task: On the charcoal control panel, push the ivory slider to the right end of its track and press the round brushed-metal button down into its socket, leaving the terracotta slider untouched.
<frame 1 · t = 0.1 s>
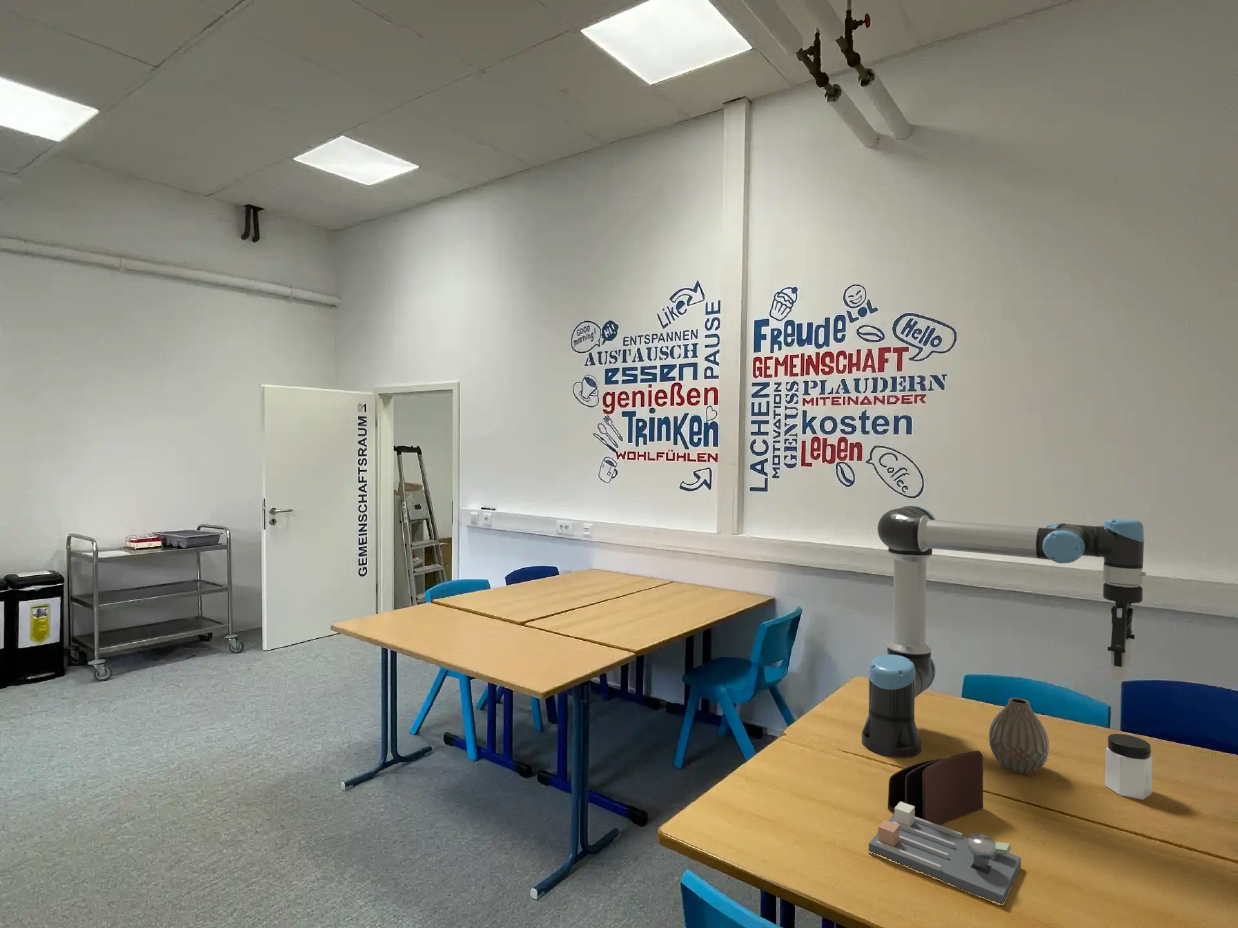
hand: (1120, 672, 161), 28 cm above the table, fingers open, 13 cm apart
slider ivory: (904, 814, 142), point 4 cm above the table, slide at 0.0 cm
vase: (1017, 769, 171), on the table
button: (981, 851, 128), point 5 cm above the table, slide at 0.0 cm
jar: (1127, 791, 160), on the table
slider terracotta: (888, 833, 135), point 4 cm above the table, slide at 0.0 cm
panel: (943, 859, 133), on the table
letter holder: (935, 810, 152), on the table
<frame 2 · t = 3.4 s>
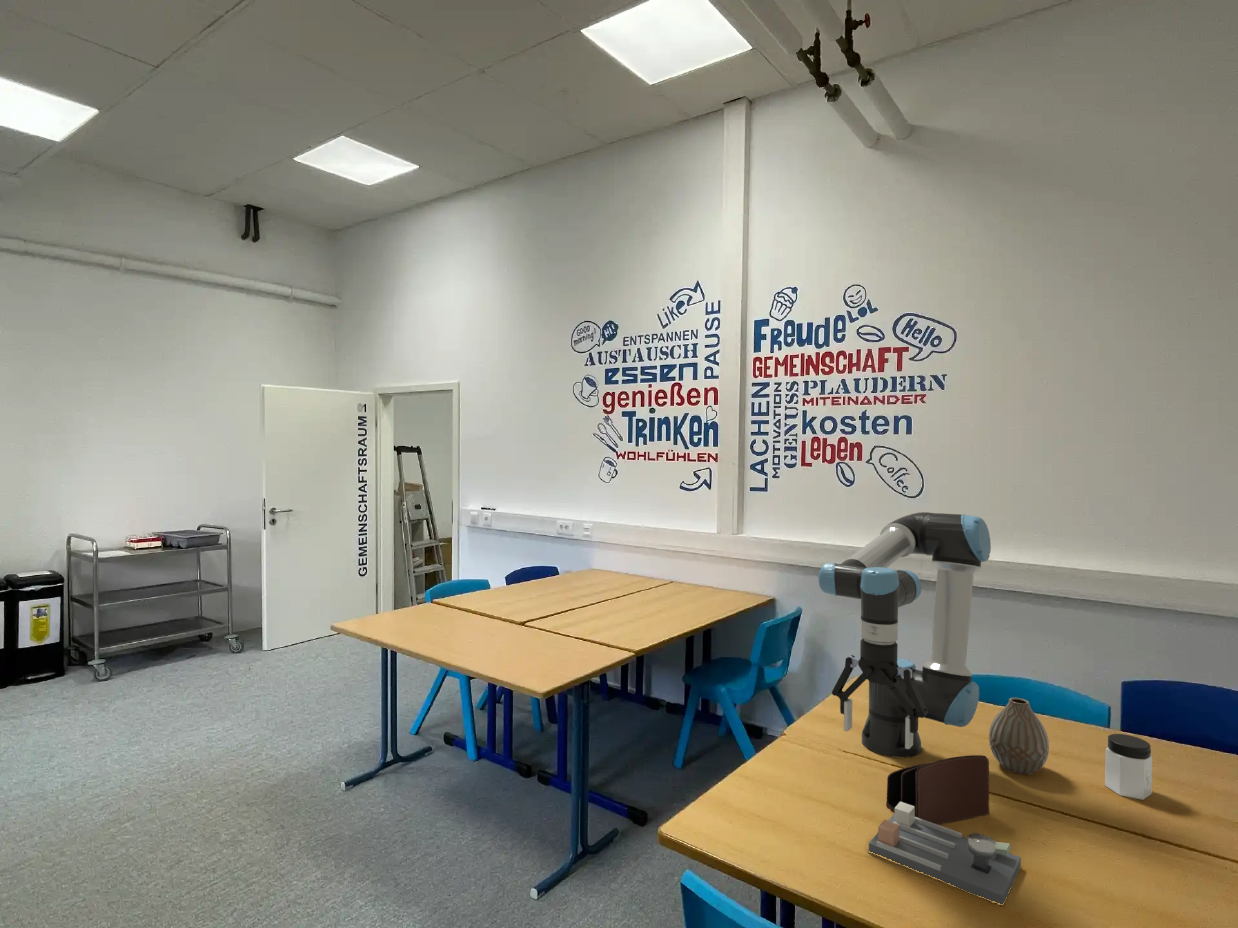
hand: (877, 737, 146), 19 cm above the table, fingers open, 12 cm apart
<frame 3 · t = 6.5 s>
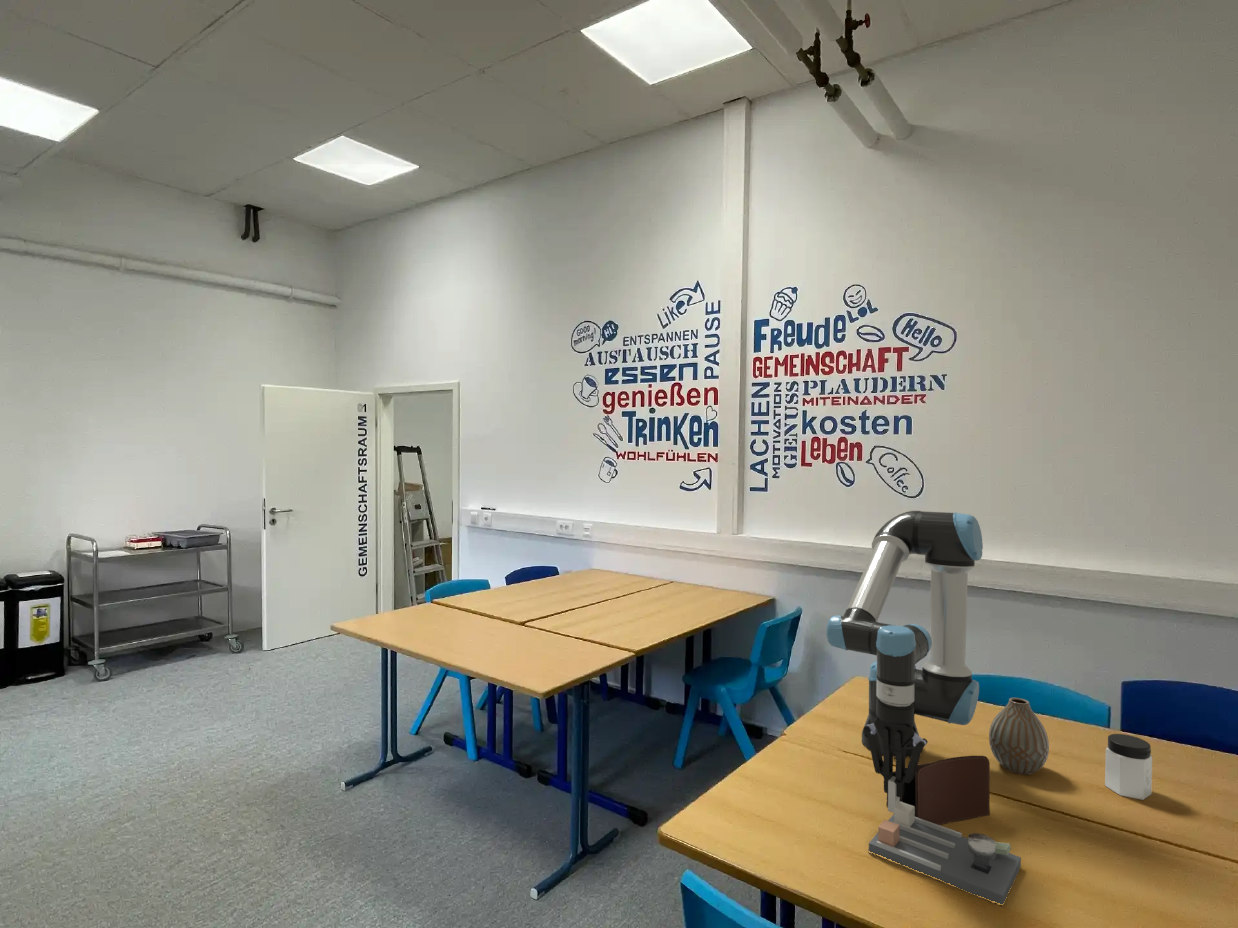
hand: (893, 809, 144), 4 cm above the table, fingers closed
slider ivory: (904, 814, 142), point 4 cm above the table, slide at 0.0 cm, touching gripper
everything else where it was.
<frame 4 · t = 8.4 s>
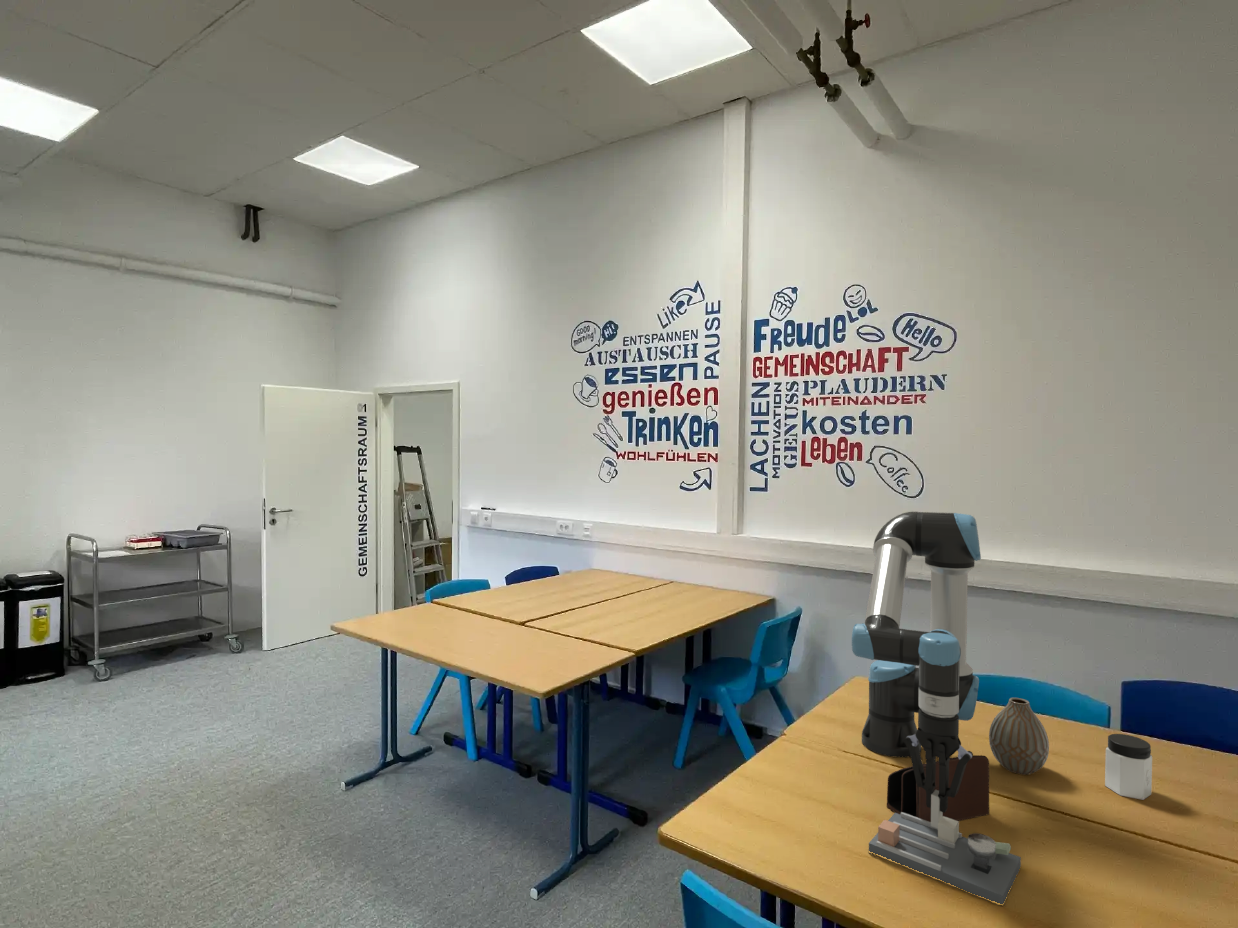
hand: (936, 824, 138), 4 cm above the table, fingers closed
slider ivory: (948, 829, 137), point 4 cm above the table, slide at 8.6 cm, touching gripper
everything else where it was.
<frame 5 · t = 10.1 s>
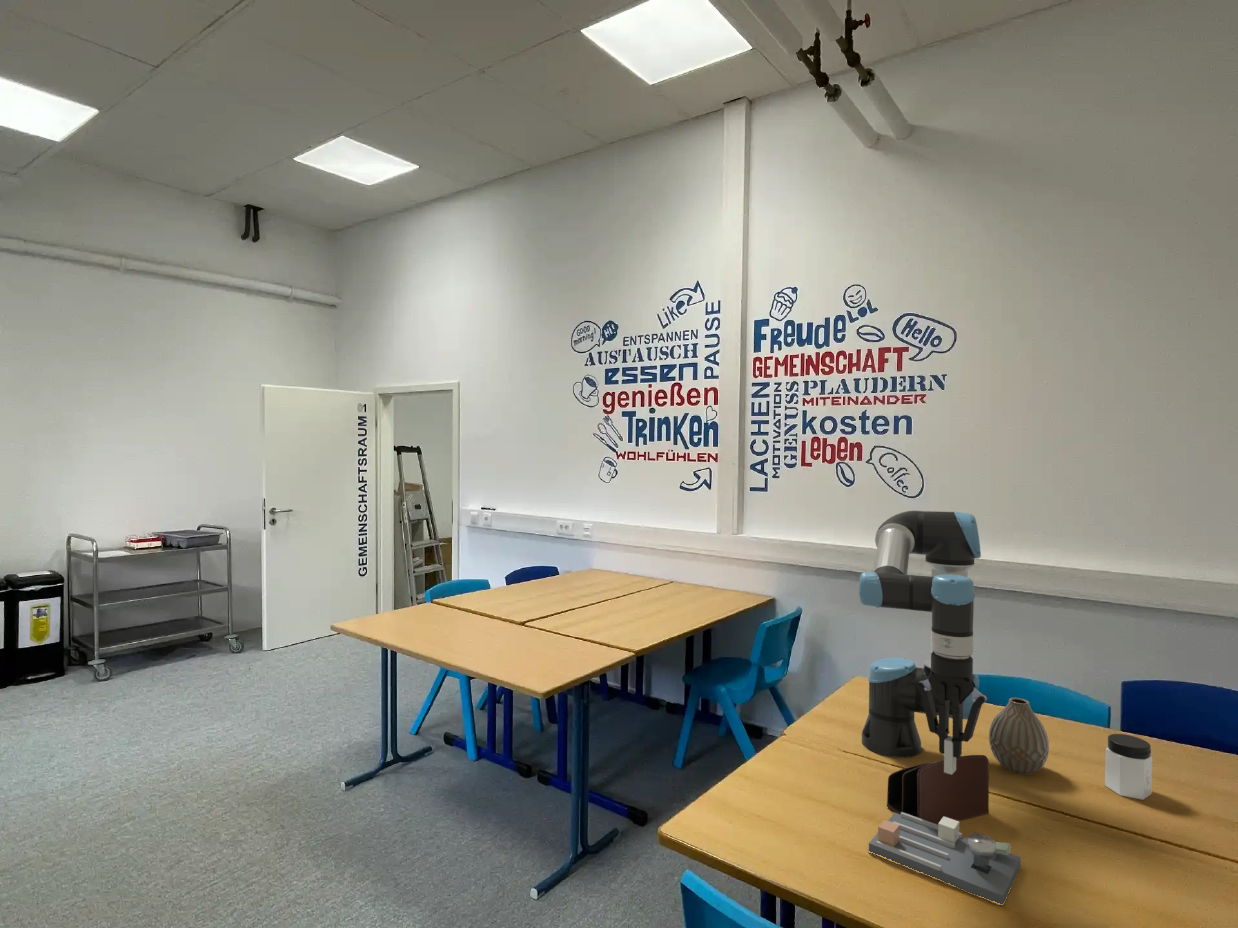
hand: (950, 770, 134), 17 cm above the table, fingers closed
slider ivory: (948, 830, 136), point 4 cm above the table, slide at 8.7 cm
everything else where it was.
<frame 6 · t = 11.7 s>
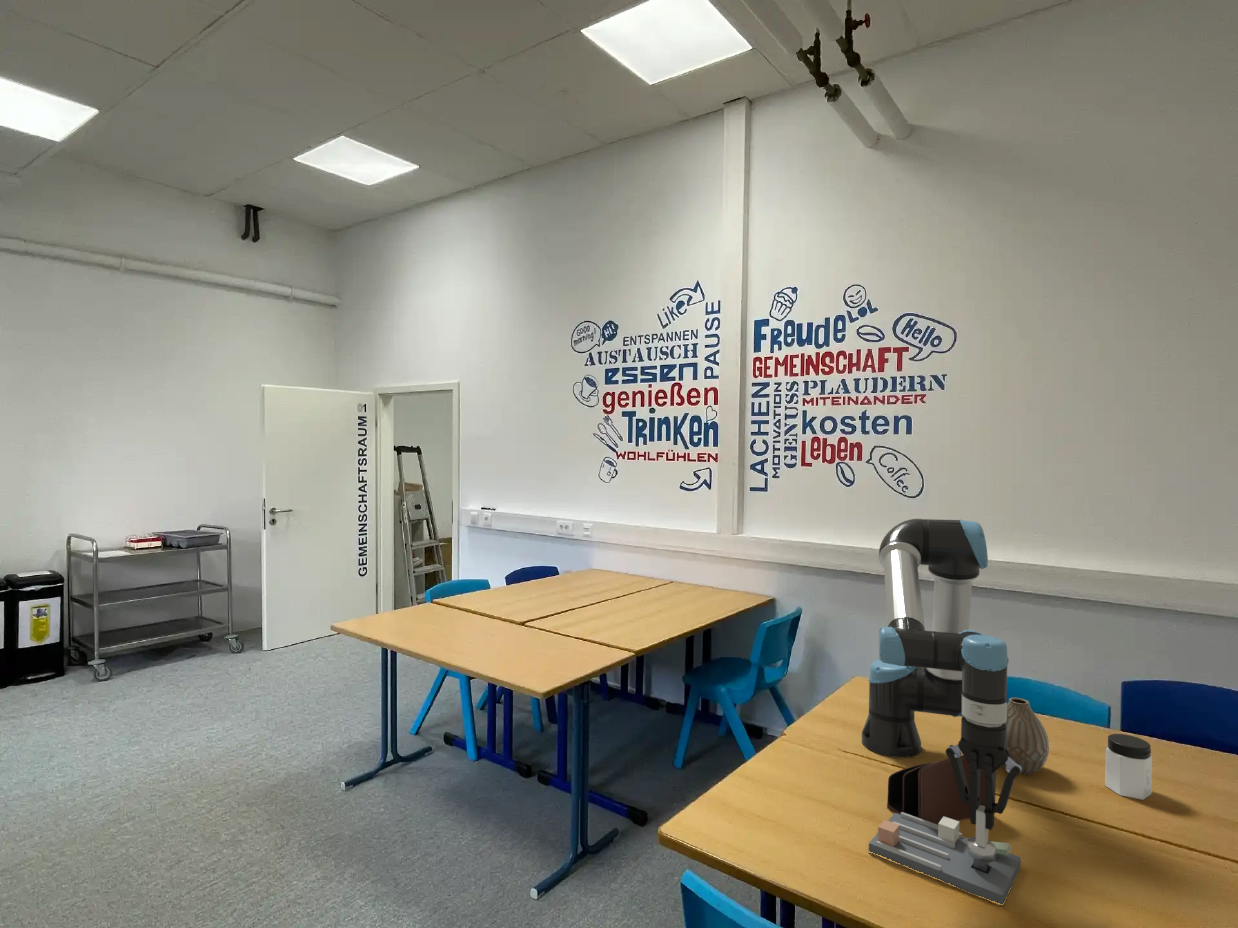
hand: (981, 842, 127), 7 cm above the table, fingers closed
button: (981, 855, 128), point 4 cm above the table, slide at 0.7 cm, touching gripper
everything else where it was.
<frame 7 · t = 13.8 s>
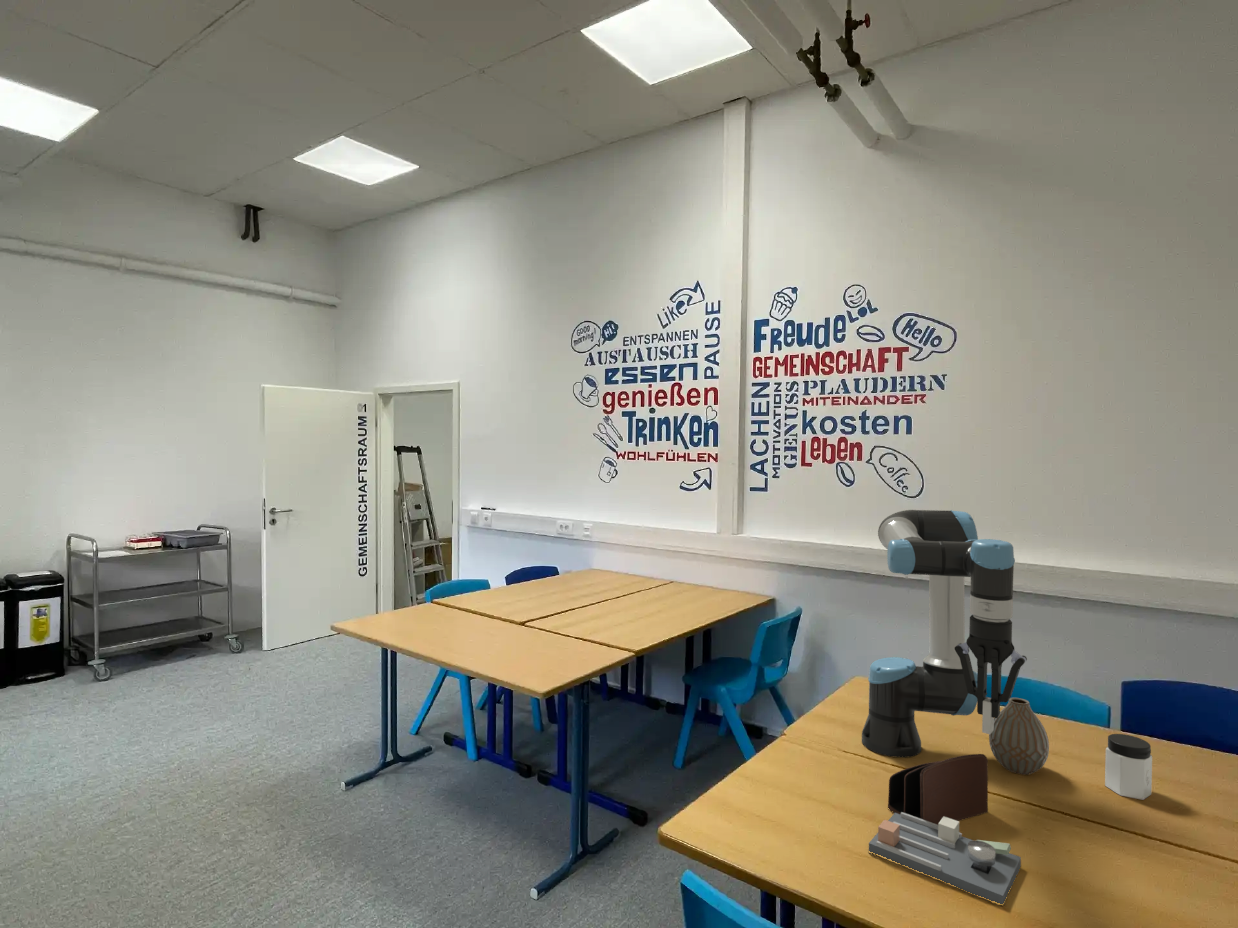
hand: (987, 730, 137), 24 cm above the table, fingers closed
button: (981, 859, 128), point 3 cm above the table, slide at 1.4 cm
everything else where it was.
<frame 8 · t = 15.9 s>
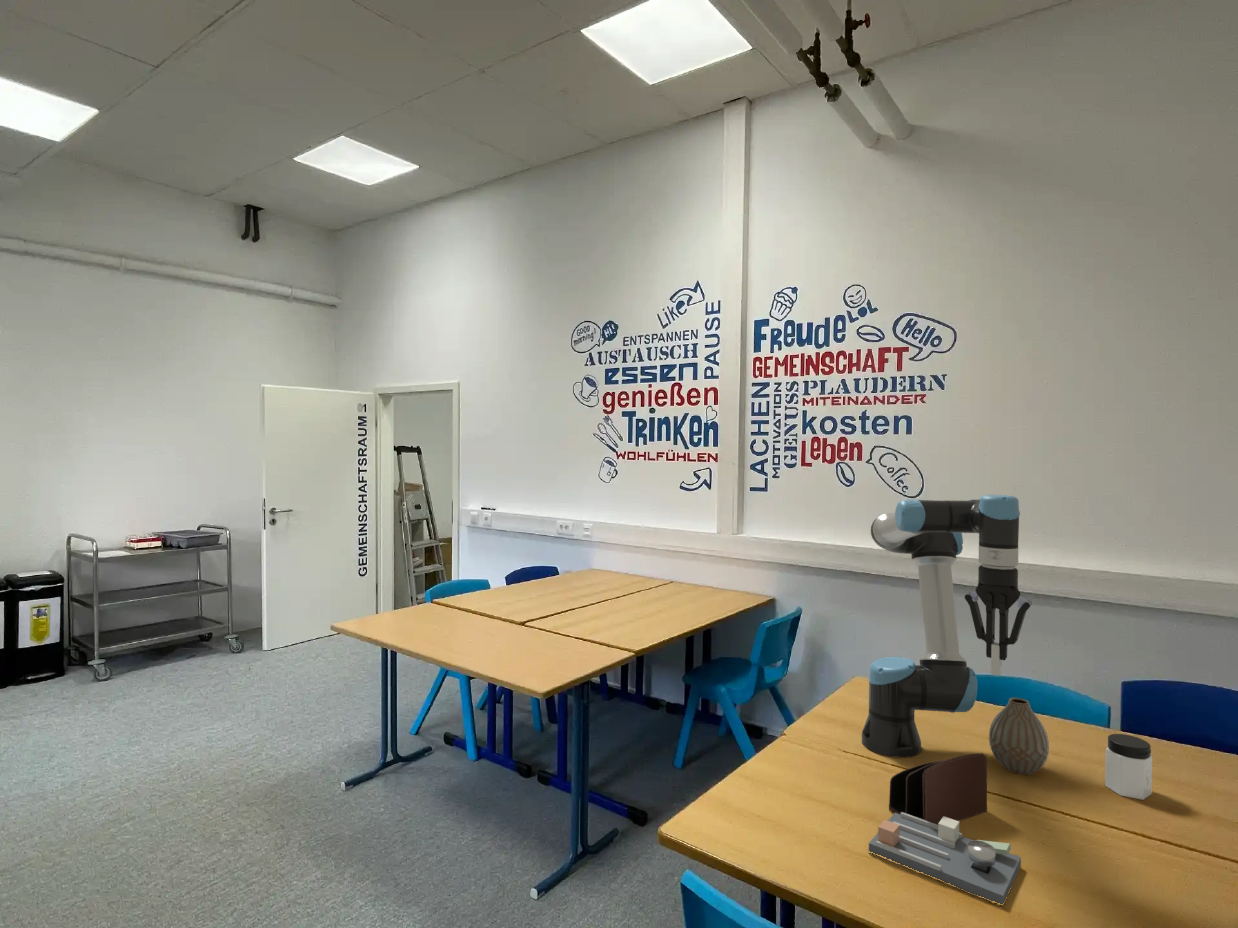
hand: (996, 673, 147), 32 cm above the table, fingers closed
nothing on the table moved.
at the end: slider ivory slide at 8.7 cm; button slide at 1.4 cm; slider terracotta slide at 0.0 cm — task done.
